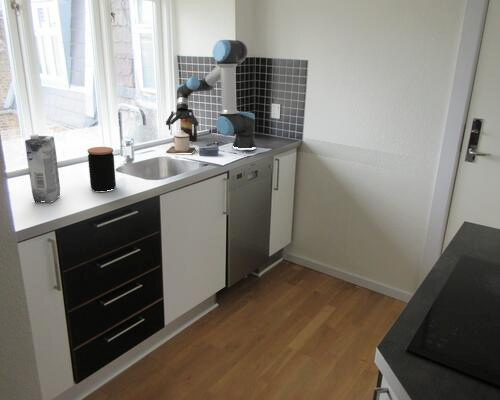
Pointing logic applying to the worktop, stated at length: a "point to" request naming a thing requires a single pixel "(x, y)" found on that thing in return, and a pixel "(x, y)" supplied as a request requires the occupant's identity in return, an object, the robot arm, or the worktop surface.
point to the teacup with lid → (181, 141)
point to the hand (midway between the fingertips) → (182, 134)
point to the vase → (189, 127)
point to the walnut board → (172, 150)
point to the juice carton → (43, 168)
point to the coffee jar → (101, 168)
